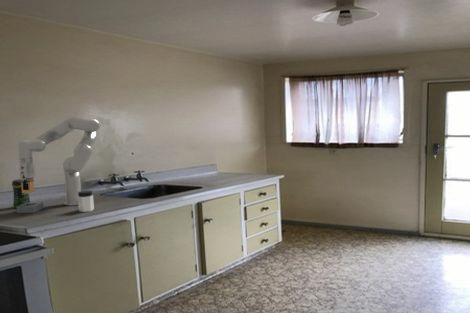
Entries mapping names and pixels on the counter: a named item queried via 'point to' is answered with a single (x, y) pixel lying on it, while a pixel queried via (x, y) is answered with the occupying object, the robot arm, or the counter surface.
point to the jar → (85, 201)
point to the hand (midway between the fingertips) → (28, 188)
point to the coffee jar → (19, 194)
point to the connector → (30, 185)
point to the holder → (30, 207)
